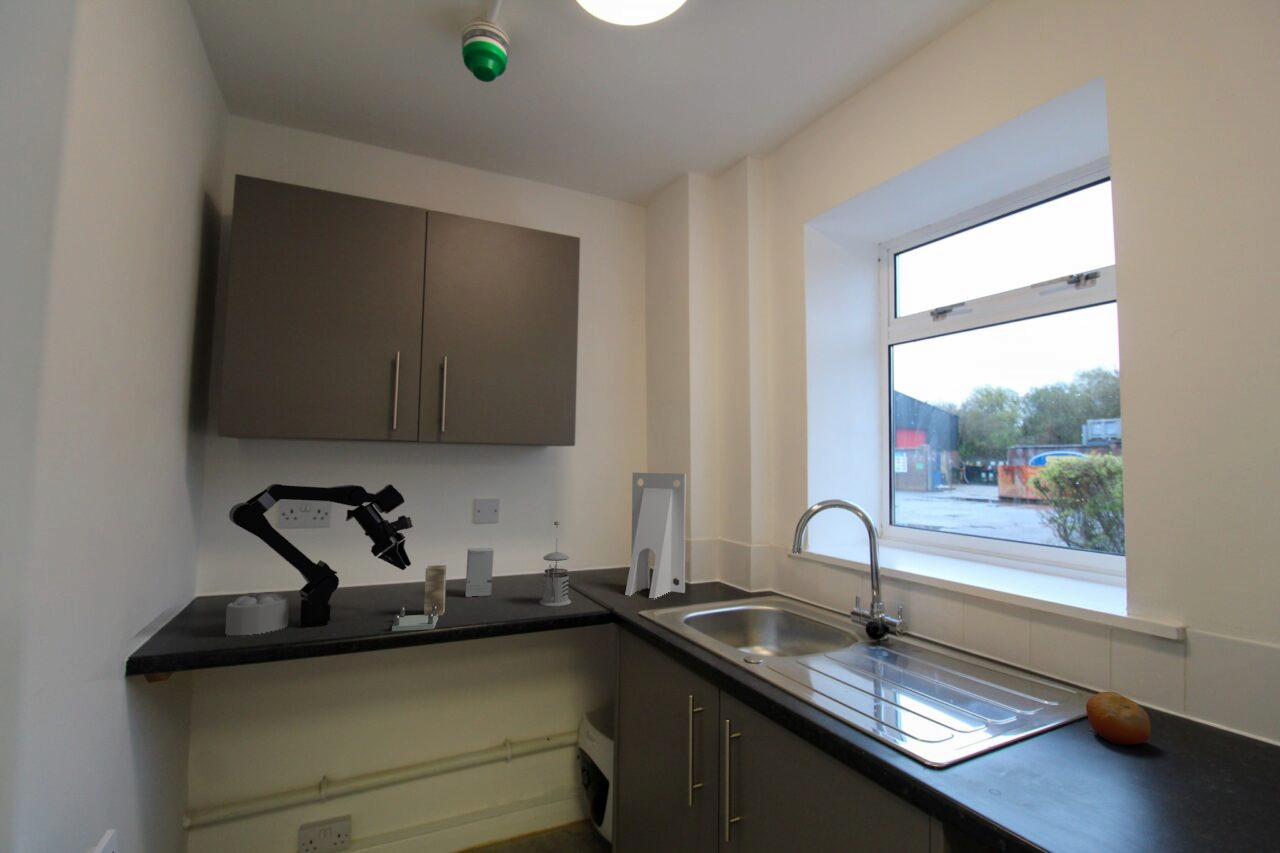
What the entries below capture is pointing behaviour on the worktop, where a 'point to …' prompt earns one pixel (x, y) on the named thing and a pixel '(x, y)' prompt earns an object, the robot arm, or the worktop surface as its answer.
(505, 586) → the worktop surface
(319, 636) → the worktop surface
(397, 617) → the peg board
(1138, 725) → the fruit
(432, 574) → the birch post
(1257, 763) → the worktop surface
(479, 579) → the skincare box
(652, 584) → the grey wedge bracket
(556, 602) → the french press
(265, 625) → the lumpy-topped squat cylinder
